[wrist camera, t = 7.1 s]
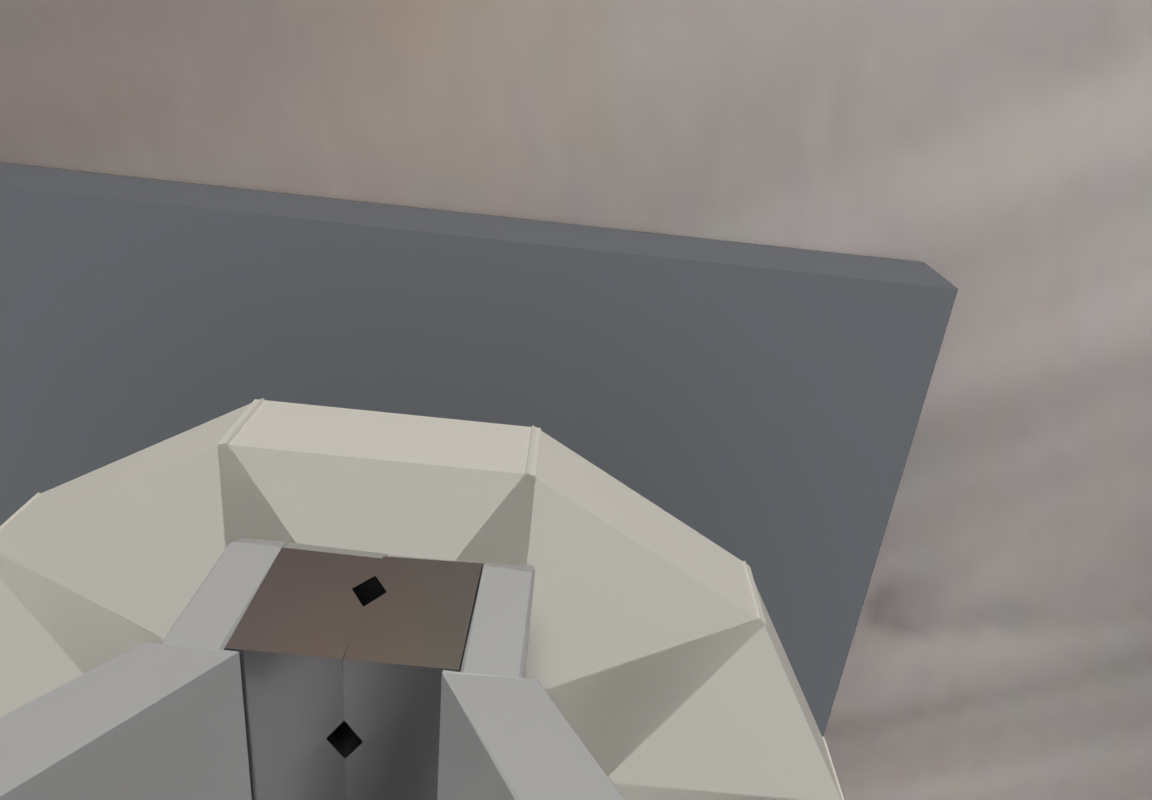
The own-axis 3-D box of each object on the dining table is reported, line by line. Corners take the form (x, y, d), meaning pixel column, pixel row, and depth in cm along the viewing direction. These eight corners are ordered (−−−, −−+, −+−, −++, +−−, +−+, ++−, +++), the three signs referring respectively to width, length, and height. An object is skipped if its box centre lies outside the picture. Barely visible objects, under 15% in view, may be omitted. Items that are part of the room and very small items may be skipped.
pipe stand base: (924, 262, 15) (958, 288, 13) (748, 888, 22) (759, 948, 20) (-28, 159, 14) (-92, 176, 13) (95, 833, 21) (60, 890, 20)
